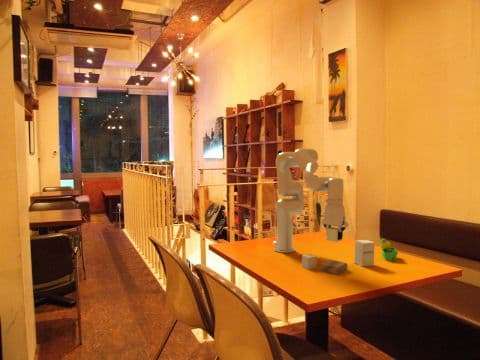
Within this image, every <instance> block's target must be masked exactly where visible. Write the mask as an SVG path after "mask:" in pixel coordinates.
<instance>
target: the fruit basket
mask: <svg viewBox="0 0 480 360" xmlns="http://www.w3.org/2000/svg"><path fill="white" fill-rule="evenodd" d="M379 244H380V250H381V253H382V258H383V259H384V261H390V262H391V261H392V262H394V261H396V259H397V257H398V255H399V251H398V250H397V249H396V248H395V247H392V246H391V245H392V244H391V243H390V242H389V241H388V240H387V239H385V238H381V239H380V241H379Z"/></svg>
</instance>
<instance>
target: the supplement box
mask: <svg viewBox="0 0 480 360" xmlns="http://www.w3.org/2000/svg"><path fill="white" fill-rule="evenodd" d="M354 264H355V265H358V266H360V267H361V268H362V267H371V266H372V267H373V266H374V265H375V242H374V241H371V240H368V239H359V240H355V241H354Z"/></svg>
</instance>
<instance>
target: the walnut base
mask: <svg viewBox="0 0 480 360" xmlns="http://www.w3.org/2000/svg"><path fill="white" fill-rule="evenodd" d="M319 271H320V272H323V273H327V274H332V275H336V276H339V275H341V274H343V273H345V272H346V271H348V262H344V261H340V260H339V261H338V260H334V259H328V260H325V261H323V262H321V263H320V264H319Z"/></svg>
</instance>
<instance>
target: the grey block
mask: <svg viewBox="0 0 480 360" xmlns="http://www.w3.org/2000/svg"><path fill="white" fill-rule="evenodd" d="M317 265H318V256H316V255H314V254H311V253H309V254H302V255H301V267H302V268H304V269H307V270H311V269H317V268H318V266H317Z"/></svg>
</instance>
